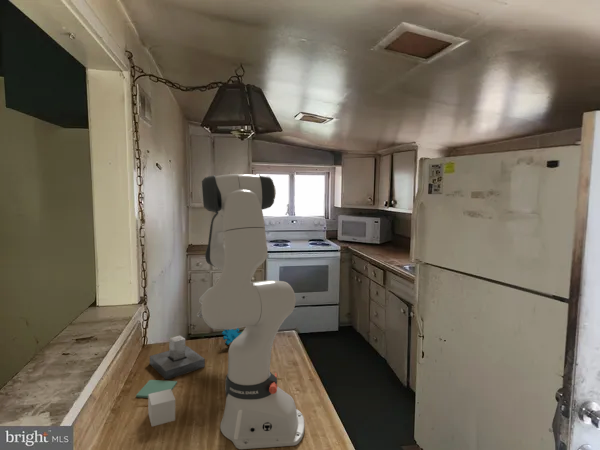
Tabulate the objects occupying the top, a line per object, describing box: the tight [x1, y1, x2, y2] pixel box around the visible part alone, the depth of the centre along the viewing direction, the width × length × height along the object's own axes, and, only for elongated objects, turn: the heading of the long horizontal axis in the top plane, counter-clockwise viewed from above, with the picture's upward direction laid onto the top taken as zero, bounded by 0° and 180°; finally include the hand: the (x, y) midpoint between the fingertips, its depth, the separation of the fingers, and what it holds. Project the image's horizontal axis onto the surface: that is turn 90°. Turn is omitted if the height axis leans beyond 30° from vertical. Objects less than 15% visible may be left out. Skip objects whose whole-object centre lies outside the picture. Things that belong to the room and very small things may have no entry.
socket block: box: [149, 345, 206, 381], centre depth 127 cm, size 14×14×3 cm
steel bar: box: [168, 335, 186, 362], centre depth 127 cm, size 4×4×10 cm
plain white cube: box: [147, 389, 176, 427], centre depth 98 cm, size 6×6×6 cm
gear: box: [221, 328, 244, 346], centre depth 147 cm, size 11×6×10 cm
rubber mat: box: [135, 379, 178, 399], centre depth 111 cm, size 9×9×1 cm
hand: (204, 319), depth 133 cm, fingers open, 8 cm apart
